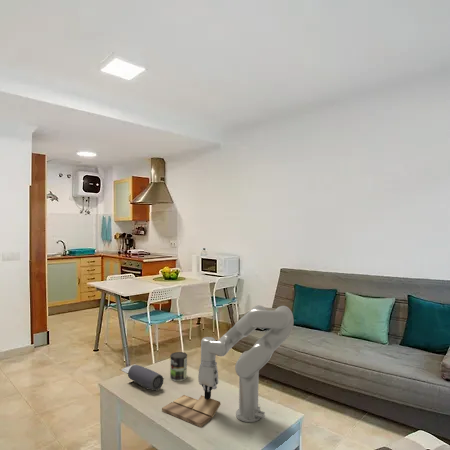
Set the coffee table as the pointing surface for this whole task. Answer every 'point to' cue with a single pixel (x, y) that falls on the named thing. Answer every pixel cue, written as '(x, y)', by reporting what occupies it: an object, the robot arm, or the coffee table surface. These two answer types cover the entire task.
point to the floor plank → (186, 414)
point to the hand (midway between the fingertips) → (207, 398)
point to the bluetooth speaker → (145, 377)
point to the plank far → (186, 401)
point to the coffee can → (178, 366)
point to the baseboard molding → (128, 369)
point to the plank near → (206, 406)
